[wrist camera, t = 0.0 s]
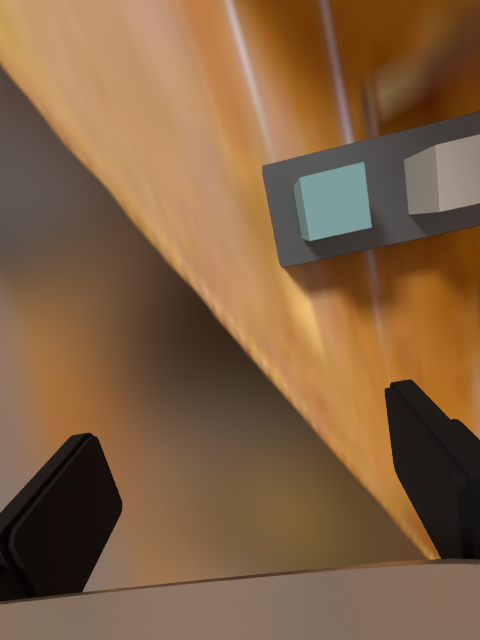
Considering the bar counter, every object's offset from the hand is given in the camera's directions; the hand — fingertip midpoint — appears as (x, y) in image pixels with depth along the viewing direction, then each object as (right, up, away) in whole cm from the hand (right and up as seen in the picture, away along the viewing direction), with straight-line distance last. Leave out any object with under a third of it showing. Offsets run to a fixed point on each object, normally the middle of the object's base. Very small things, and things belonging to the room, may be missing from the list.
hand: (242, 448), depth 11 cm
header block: (+13, +17, +27) cm, 35 cm away
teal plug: (+8, +17, +27) cm, 33 cm away
